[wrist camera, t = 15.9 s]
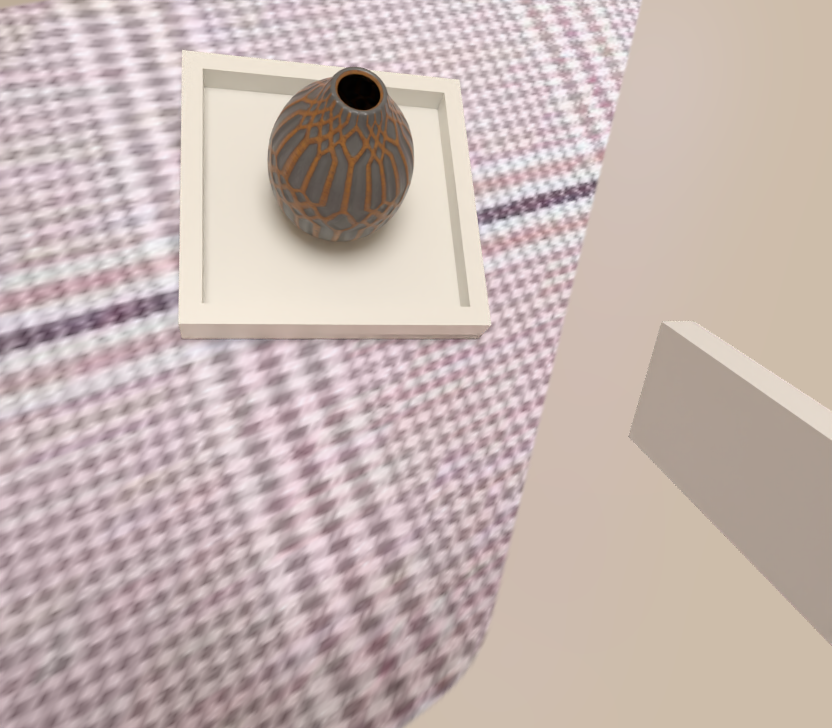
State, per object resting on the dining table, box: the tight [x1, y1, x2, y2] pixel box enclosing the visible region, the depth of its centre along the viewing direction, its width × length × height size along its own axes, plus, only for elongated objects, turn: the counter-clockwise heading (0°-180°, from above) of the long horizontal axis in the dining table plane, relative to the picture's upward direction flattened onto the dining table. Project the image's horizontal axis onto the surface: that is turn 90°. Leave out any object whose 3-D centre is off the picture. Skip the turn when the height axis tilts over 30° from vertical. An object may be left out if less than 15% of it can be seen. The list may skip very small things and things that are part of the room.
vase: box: [267, 67, 414, 242], centre depth 31 cm, size 7×7×9 cm
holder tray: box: [178, 50, 491, 339], centre depth 35 cm, size 15×15×2 cm
